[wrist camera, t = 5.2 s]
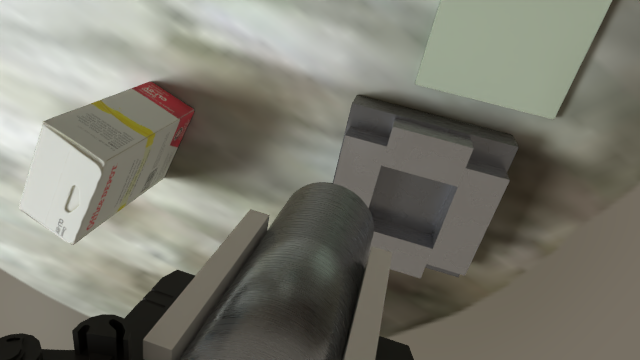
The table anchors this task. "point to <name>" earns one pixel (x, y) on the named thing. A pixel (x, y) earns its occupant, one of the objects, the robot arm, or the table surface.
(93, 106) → the ink box
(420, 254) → the block
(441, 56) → the mat
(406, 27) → the table surface
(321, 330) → the dark glossy cylinder
